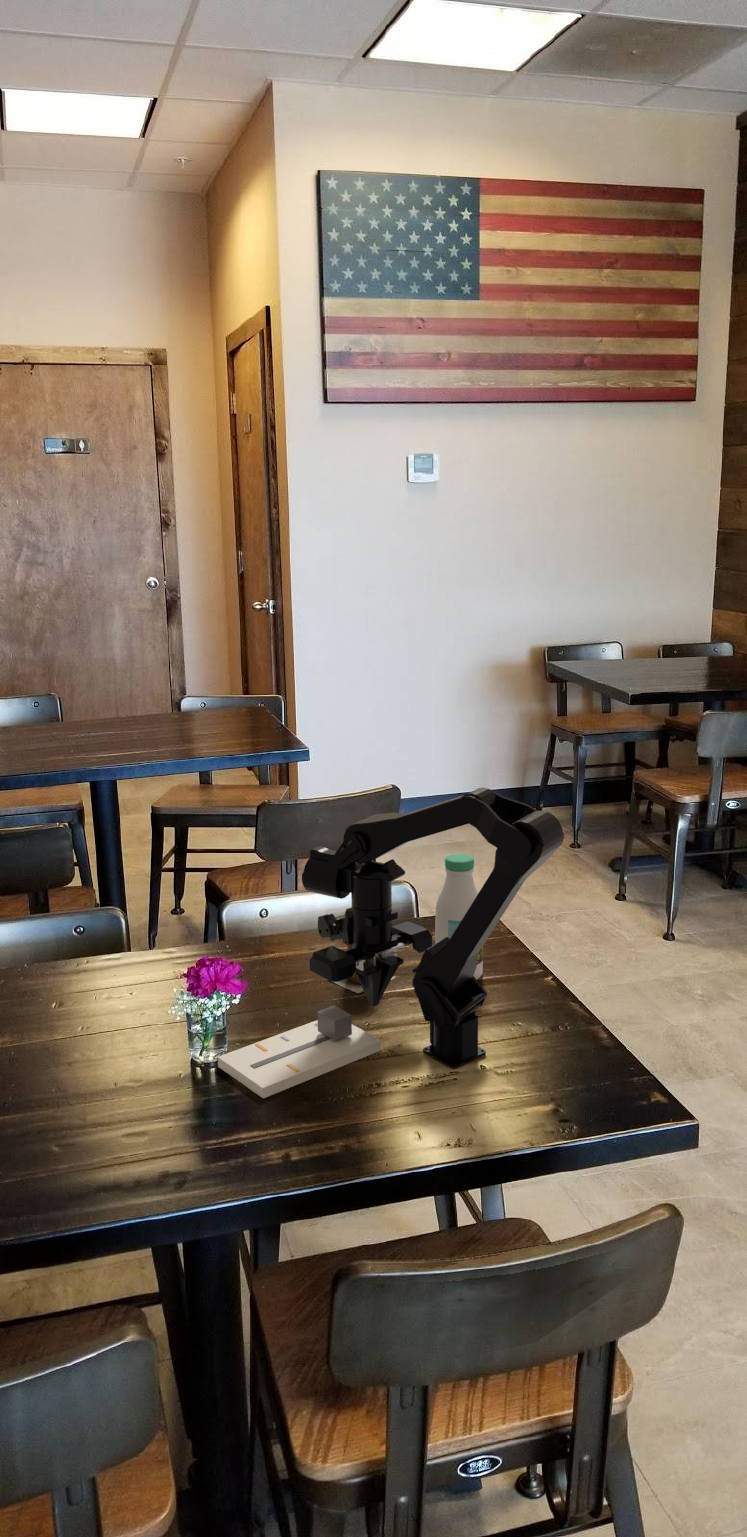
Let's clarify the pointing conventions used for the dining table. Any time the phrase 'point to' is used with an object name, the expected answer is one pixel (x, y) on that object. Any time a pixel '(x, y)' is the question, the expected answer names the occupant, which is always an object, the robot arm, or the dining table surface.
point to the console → (295, 1058)
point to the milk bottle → (456, 900)
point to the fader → (334, 1023)
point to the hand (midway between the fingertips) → (373, 1005)
